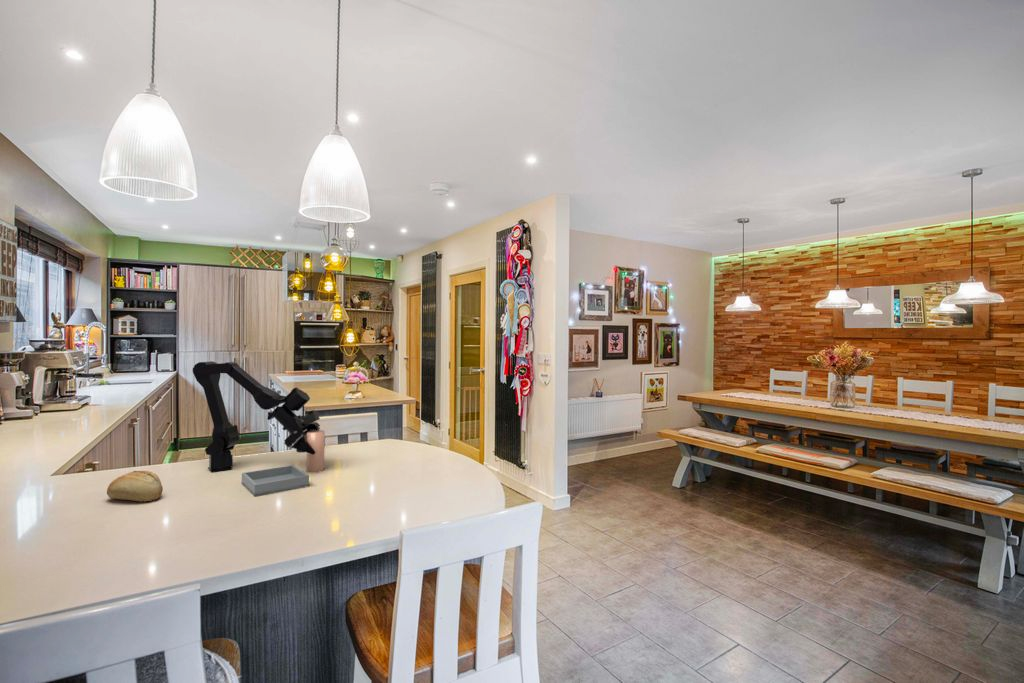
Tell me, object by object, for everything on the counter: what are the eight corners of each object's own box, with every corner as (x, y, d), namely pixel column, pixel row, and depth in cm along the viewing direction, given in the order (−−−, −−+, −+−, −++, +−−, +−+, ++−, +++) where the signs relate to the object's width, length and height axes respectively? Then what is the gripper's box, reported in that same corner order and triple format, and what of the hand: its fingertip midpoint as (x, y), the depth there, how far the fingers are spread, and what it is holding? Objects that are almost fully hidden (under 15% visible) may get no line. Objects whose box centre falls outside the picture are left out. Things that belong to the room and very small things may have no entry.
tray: (254, 496, 143) (254, 485, 143) (241, 483, 155) (241, 473, 155) (308, 486, 154) (309, 475, 154) (293, 474, 166) (293, 464, 166)
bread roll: (125, 493, 144) (125, 467, 144) (172, 494, 144) (173, 468, 143) (96, 504, 135) (96, 476, 135) (146, 506, 134) (147, 478, 134)
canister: (309, 473, 168) (310, 434, 167) (303, 469, 172) (304, 431, 172) (326, 470, 172) (327, 432, 171) (320, 467, 176) (321, 429, 176)
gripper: (294, 408, 162) (326, 440, 163) (314, 400, 181) (343, 429, 181) (270, 430, 162) (302, 463, 162) (293, 421, 181) (322, 450, 181)
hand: (319, 450), depth 172 cm, fingers open, 9 cm apart
